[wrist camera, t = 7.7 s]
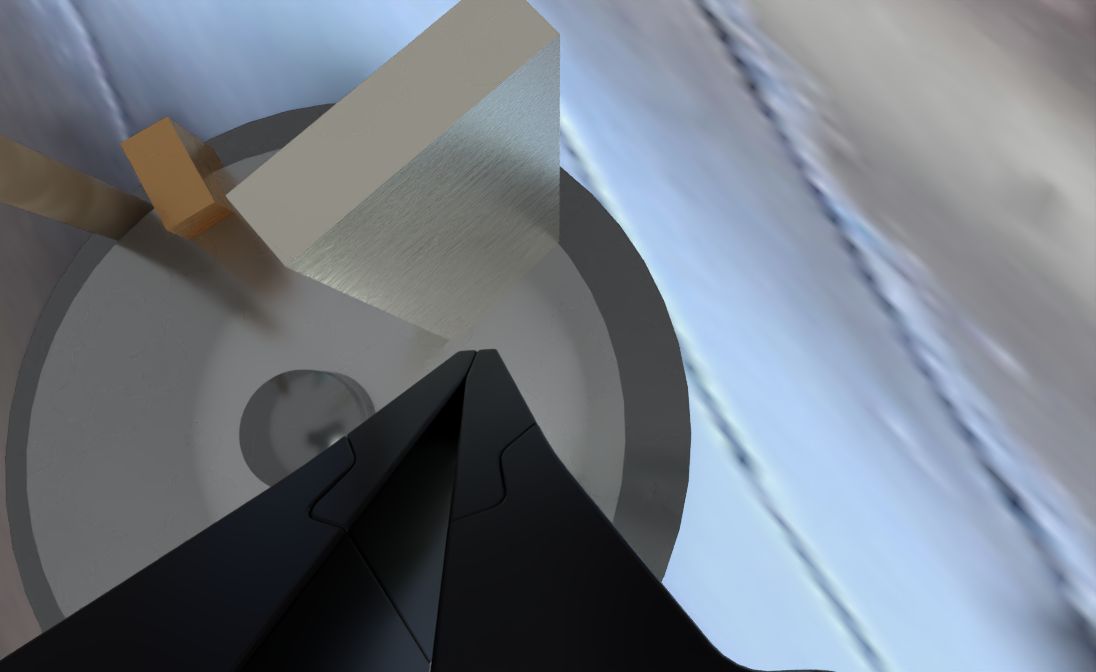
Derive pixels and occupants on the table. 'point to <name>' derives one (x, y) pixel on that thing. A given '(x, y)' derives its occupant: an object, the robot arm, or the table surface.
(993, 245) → the table surface
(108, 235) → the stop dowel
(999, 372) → the table surface
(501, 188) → the grey stand
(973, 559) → the table surface
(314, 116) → the grey round disc
